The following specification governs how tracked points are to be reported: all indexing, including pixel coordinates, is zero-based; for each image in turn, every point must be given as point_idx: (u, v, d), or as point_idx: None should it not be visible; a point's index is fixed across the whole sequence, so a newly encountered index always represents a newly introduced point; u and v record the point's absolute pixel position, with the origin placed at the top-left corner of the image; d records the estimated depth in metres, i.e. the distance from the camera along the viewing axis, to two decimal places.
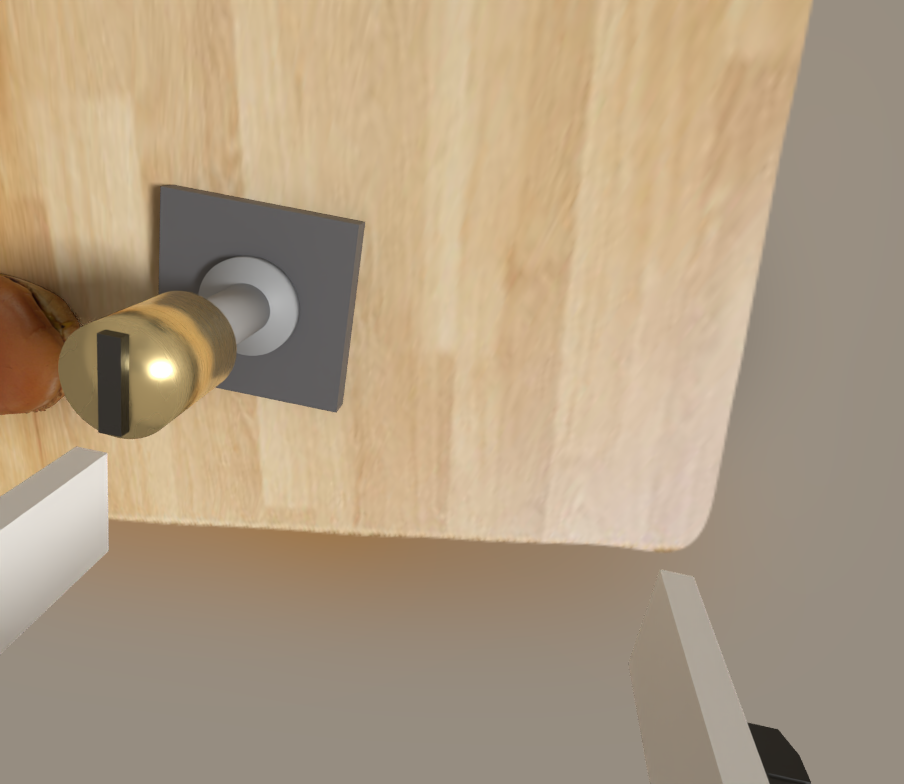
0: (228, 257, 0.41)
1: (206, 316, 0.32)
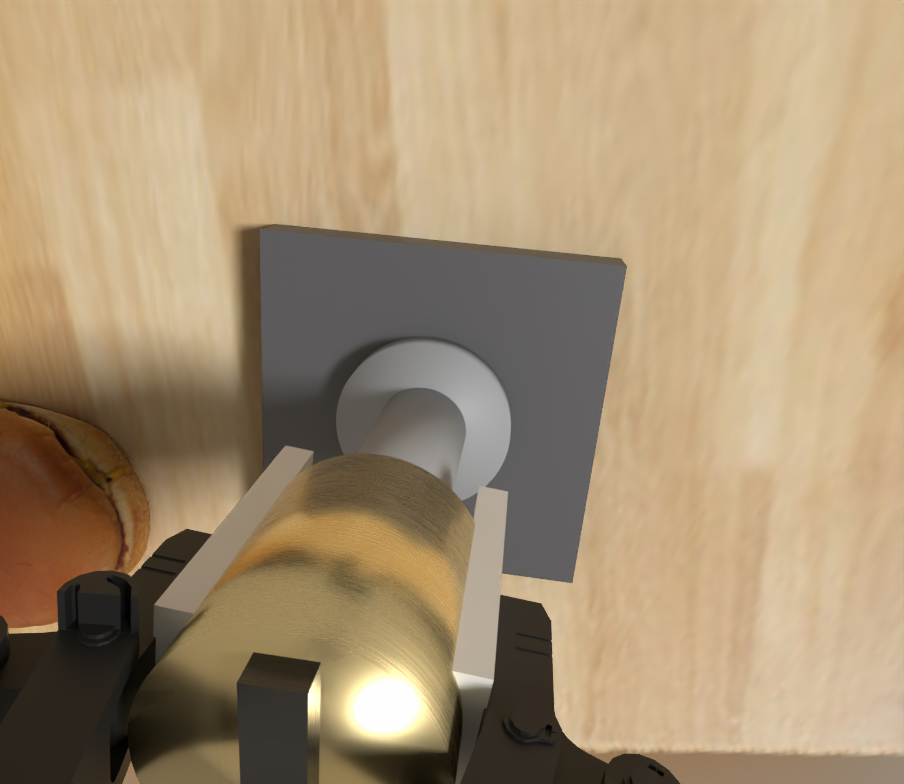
0: (383, 342, 0.23)
1: (439, 518, 0.14)
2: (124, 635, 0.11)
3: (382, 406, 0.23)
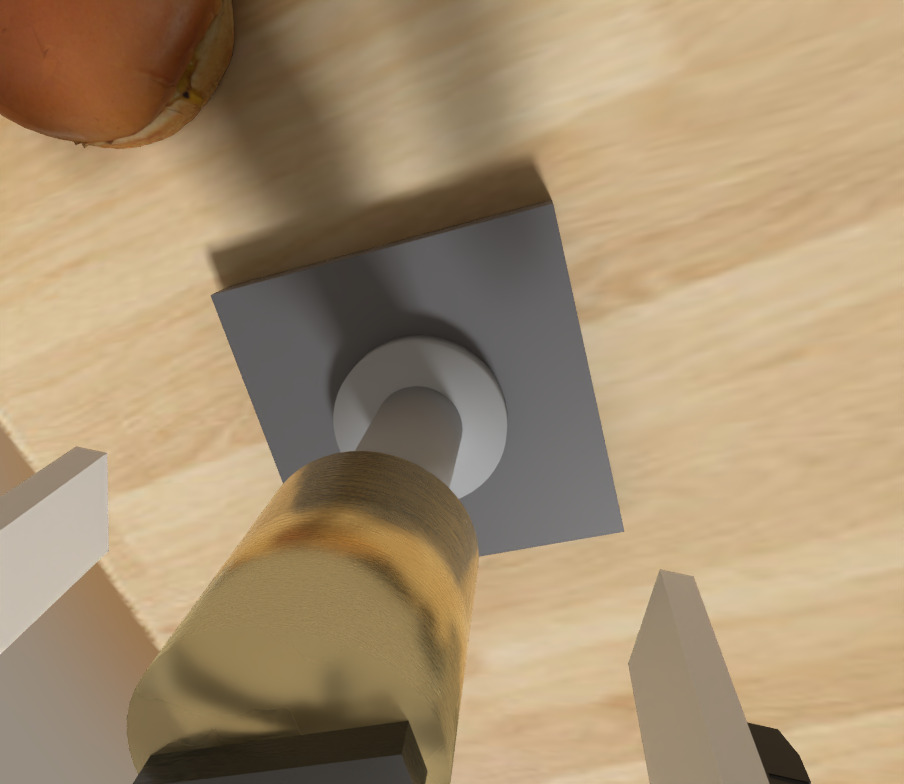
0: (482, 357, 0.23)
1: None
2: None
3: (426, 386, 0.23)
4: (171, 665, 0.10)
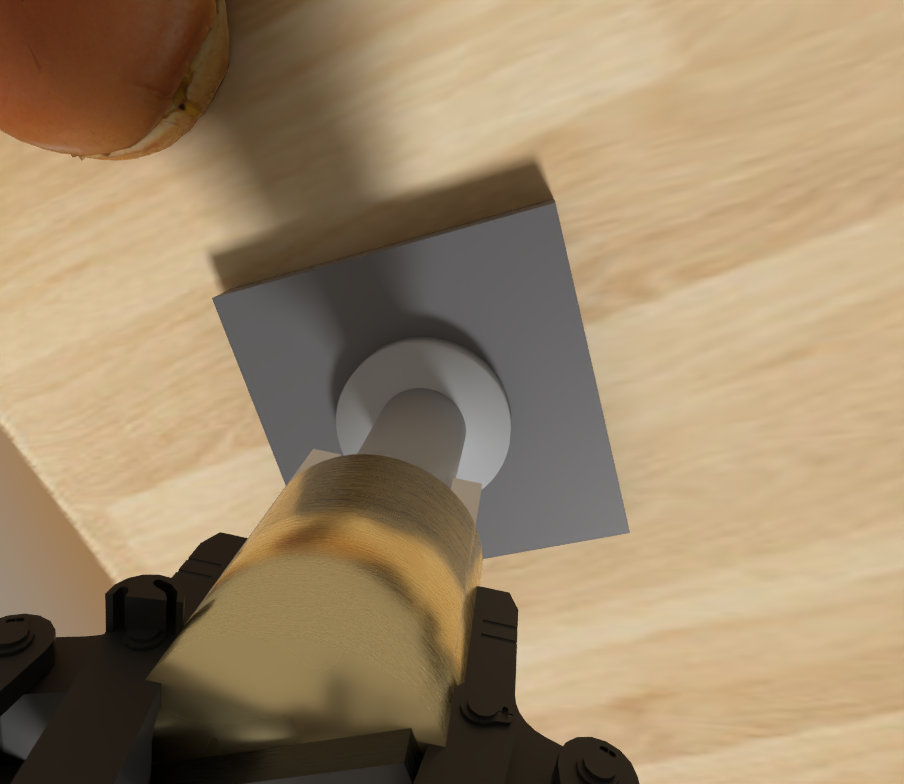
0: (485, 358, 0.23)
1: None
2: (168, 640, 0.11)
3: (428, 387, 0.23)
4: (170, 673, 0.10)
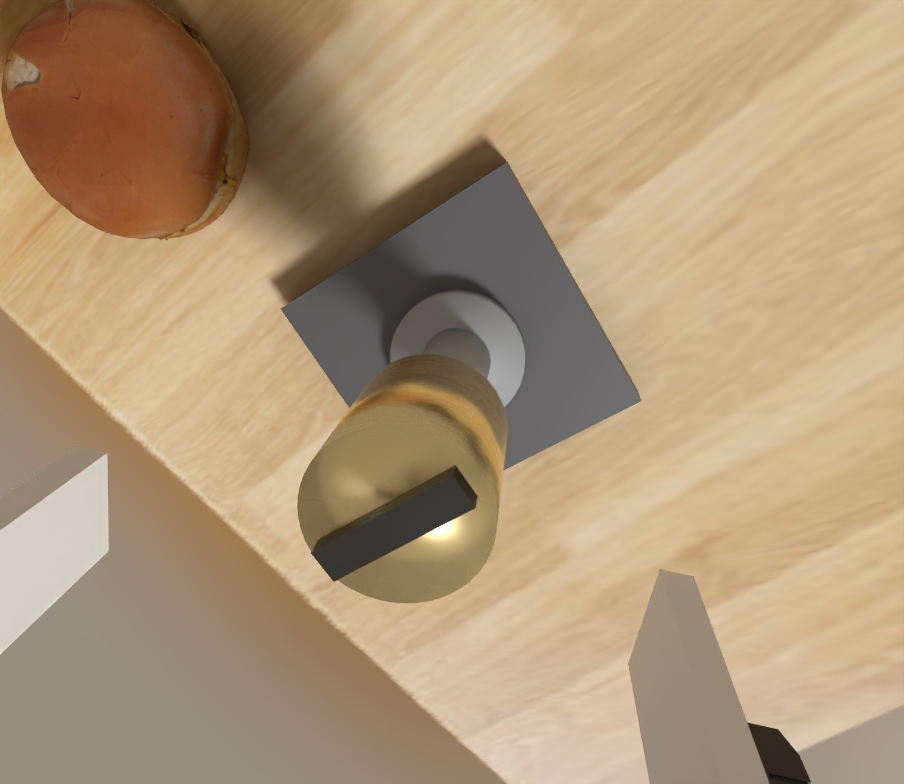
0: (489, 294, 0.30)
1: None
2: None
3: (452, 327, 0.30)
4: (314, 473, 0.17)
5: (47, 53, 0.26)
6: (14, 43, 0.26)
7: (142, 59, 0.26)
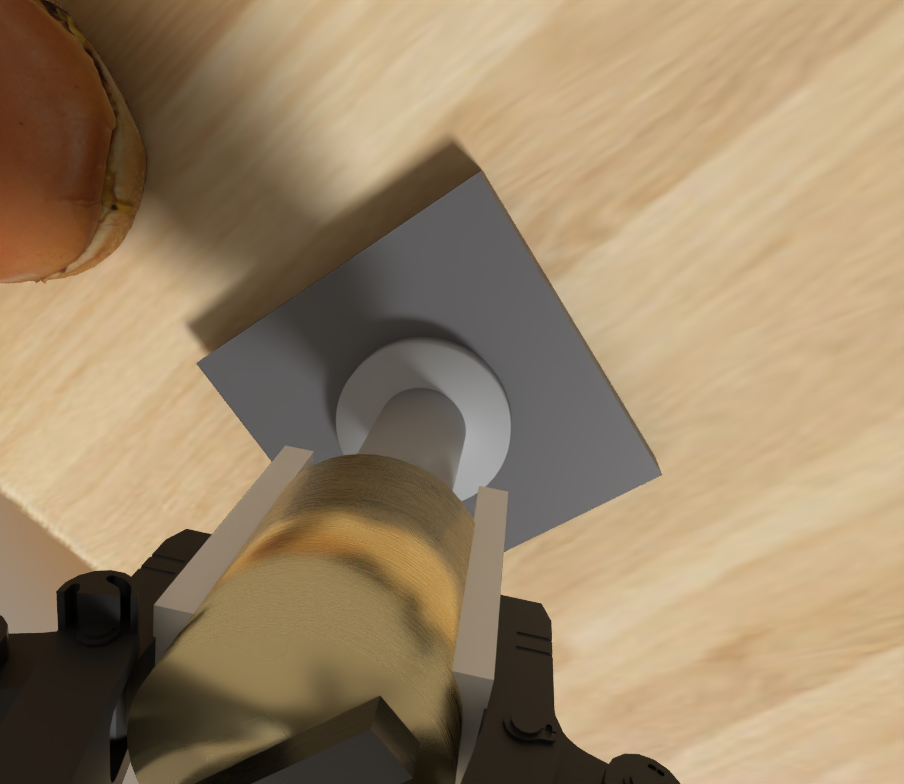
0: (462, 342, 0.23)
1: None
2: (124, 635, 0.11)
3: (415, 386, 0.23)
4: (148, 701, 0.10)
5: None
6: None
7: None
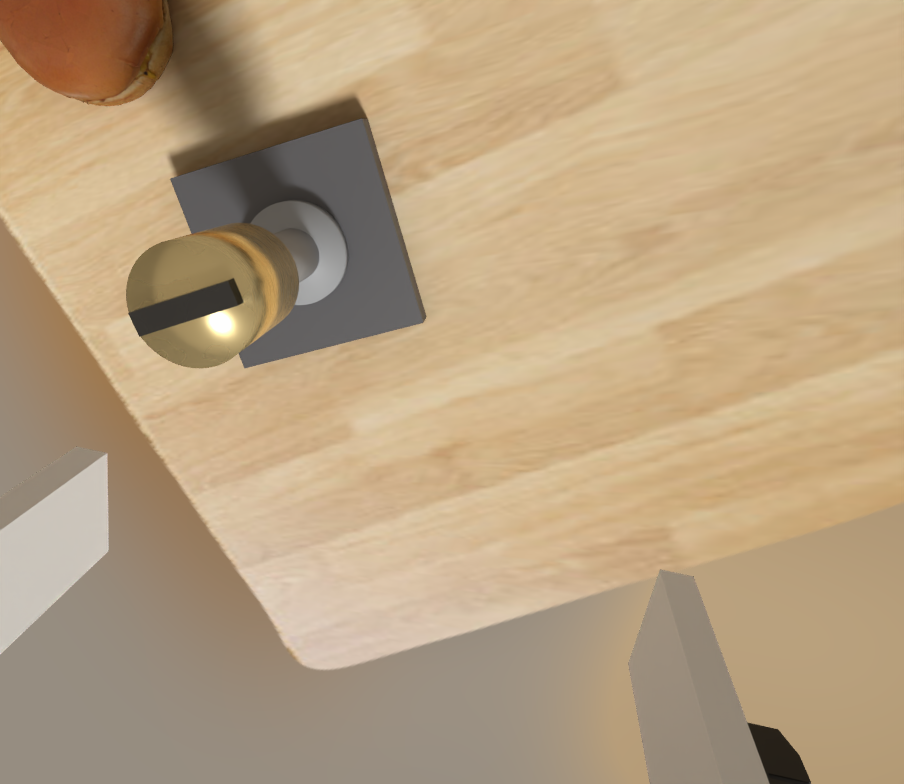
0: (330, 212, 0.40)
1: (287, 304, 0.31)
2: None
3: (296, 227, 0.39)
4: (142, 262, 0.27)
5: None
6: None
7: None
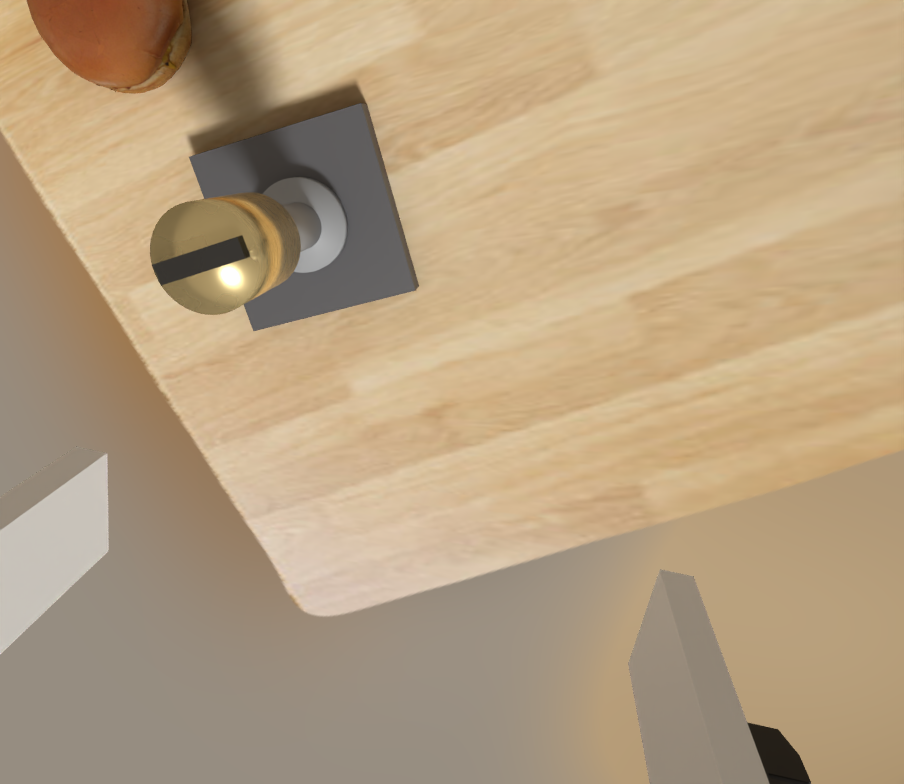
0: (332, 188, 0.44)
1: (290, 264, 0.36)
2: None
3: (301, 201, 0.43)
4: (164, 221, 0.31)
5: None
6: None
7: None
